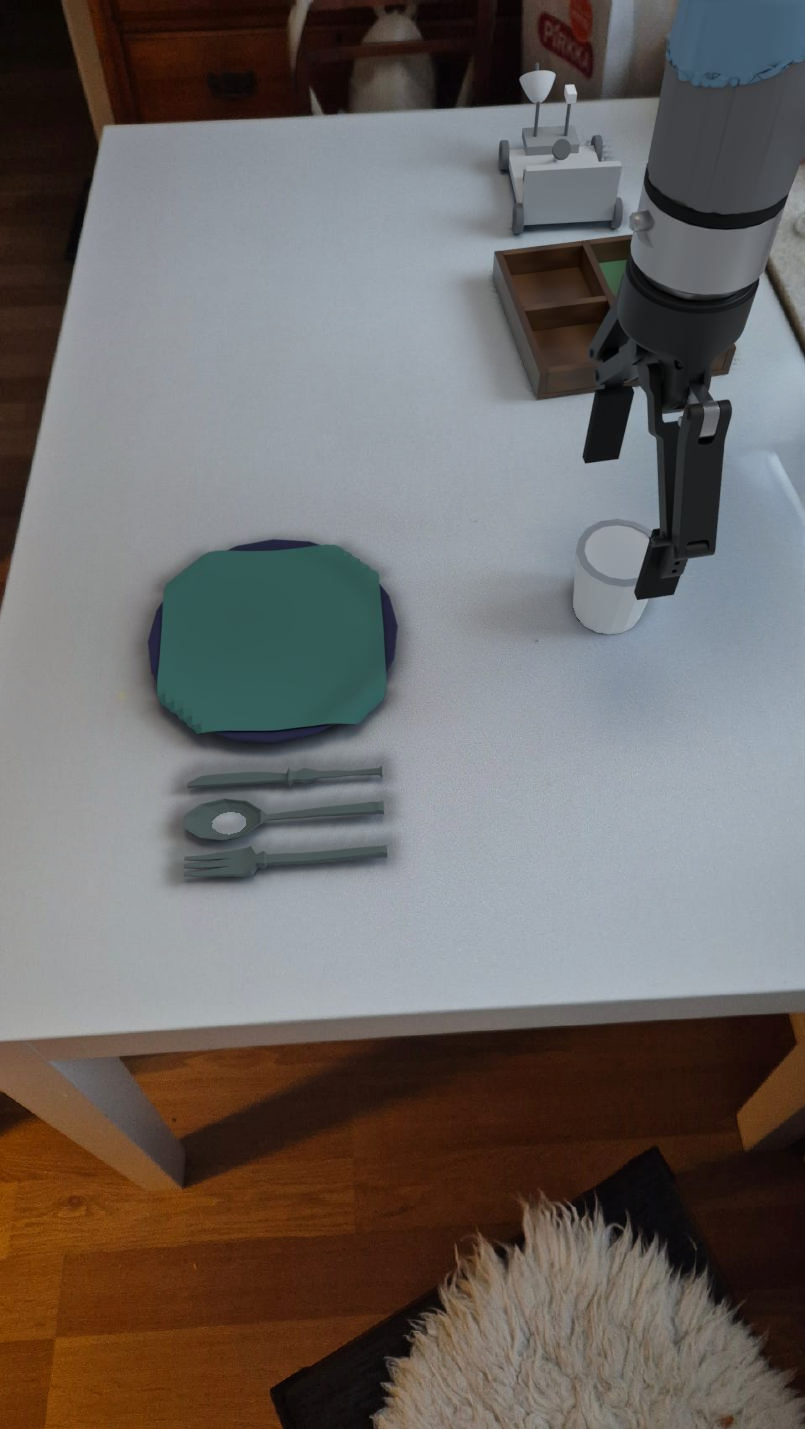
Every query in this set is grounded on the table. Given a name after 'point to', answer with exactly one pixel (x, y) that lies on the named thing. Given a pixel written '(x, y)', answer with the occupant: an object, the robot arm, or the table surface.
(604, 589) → the white cylinder canister
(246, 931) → the table surface
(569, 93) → the toy rover
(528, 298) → the compartment tray
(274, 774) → the cutlery set
